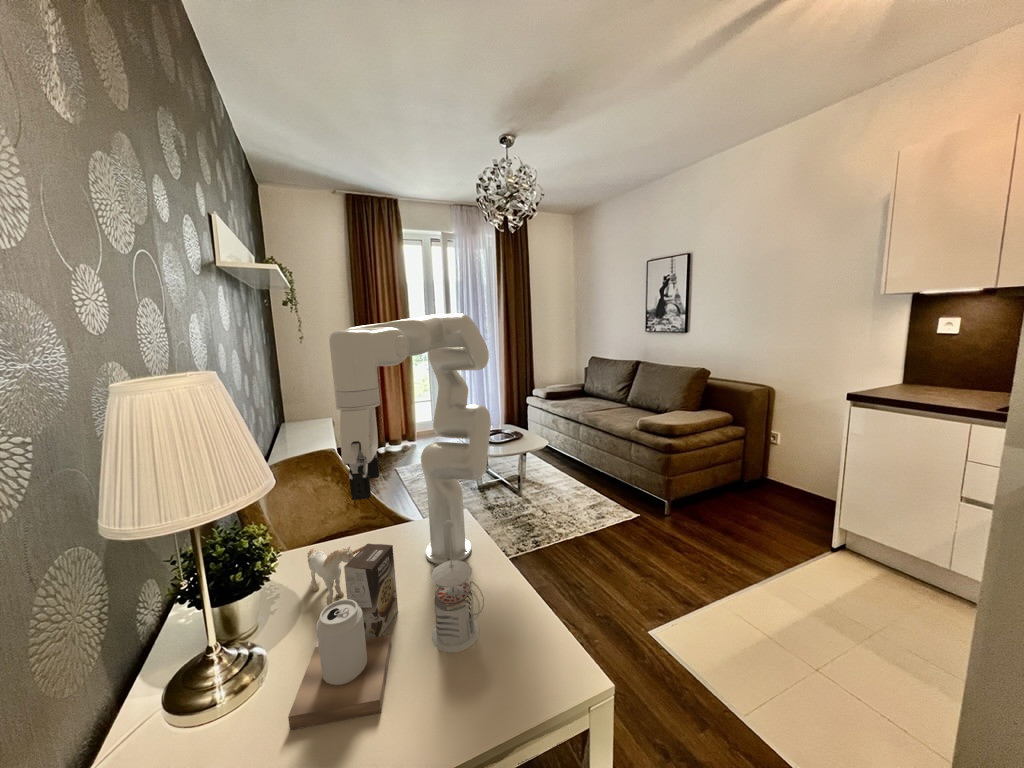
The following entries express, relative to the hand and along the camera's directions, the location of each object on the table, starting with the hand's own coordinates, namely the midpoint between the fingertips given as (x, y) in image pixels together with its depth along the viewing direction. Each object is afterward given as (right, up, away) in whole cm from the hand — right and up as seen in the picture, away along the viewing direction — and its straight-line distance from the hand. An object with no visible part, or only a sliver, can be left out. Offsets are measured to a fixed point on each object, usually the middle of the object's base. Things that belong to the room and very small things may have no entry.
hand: (366, 487), depth 75 cm
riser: (-2, -34, -3) cm, 35 cm away
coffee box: (-2, -32, +11) cm, 34 cm away
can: (-2, -32, -4) cm, 32 cm away
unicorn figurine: (-14, -31, +23) cm, 41 cm away
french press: (+17, -32, +7) cm, 37 cm away
